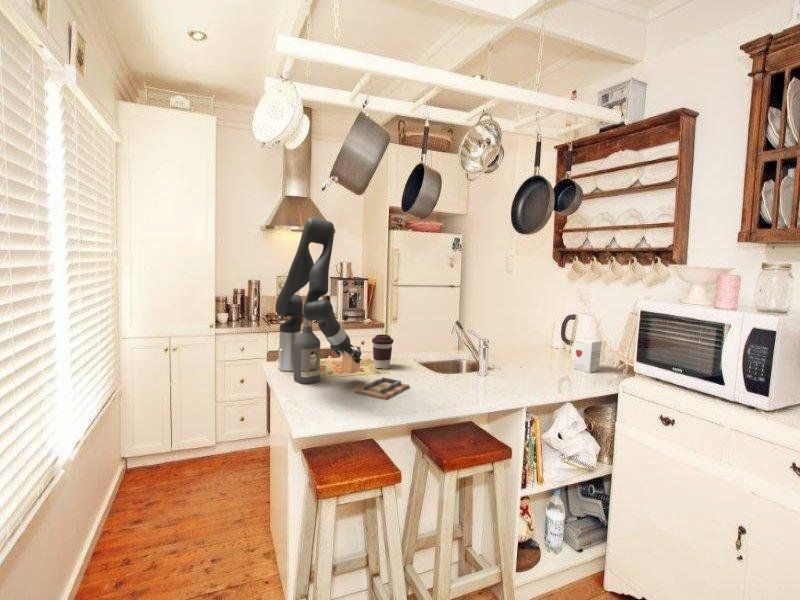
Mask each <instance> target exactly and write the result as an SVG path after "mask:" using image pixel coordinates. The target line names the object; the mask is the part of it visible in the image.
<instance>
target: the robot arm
mask: <svg viewBox="0 0 800 600" xmlns="http://www.w3.org/2000/svg"><path fill="white" fill-rule="evenodd" d="M334 238H335V226H334V223H333V222H331V221H329V220H325V219H320V218H319V219H318V218H316V217H309V218H308V219H306V221H305V223H304V226H303V229H302V232H301V236H300V240H299V243H298V247H297V249H296V253H295V255H294V258H293V261H292V262H291V264H290V268H289V271H288V274H287V277H286V279H285V282H284V284H283V287H282V288H281V289H280V292H279V294H278V296H277V298H276V302H275V312H276V314H277V315H278V316H279V317H290V318H289V319H288V320H287V321H285V322H282V323H281V324H280V325H279V333H278V335H279V336H278V337H279V340H278V341H279V342H278V344H279V345H278V346H279V347H278V370H279V371H280V372H281V371H282V372H294V342H295V340H296V339H297V337H298V336H299V335H300V334H301V333H302V326H303V317H304V316H305V318H306V319H307V320H309V321H312V322H314V321H318V322H317V325H318V328H319V329H320V331H321V332H322V334H323V335H324V337H325V339H326V340H327V342H328V343H329V344H330V346H329V348H331V350H332V351H333V352H334V353H335V354H336V355H338V356H341V357H342V358H343V353H347V354H348V355H349V356H350V357H353V358H354V360H355V361H356V363H358V364H359V363H360V364H361V361H362V358H361V356H362V350H361V349H360V347H361V346H357V348H355V347H353V346H354V345H353V344H352V343H351V338H350V336H349V335H348V333H347V332H346V330H345V329H344V327H343V326H342V325H340V323H339V321H338V320H337V318H336V316H335V315H336V314H335V312H334V311H335V310H334V307H333V304H332V302H331V301H329V300H327V299H320V298H322V297H325V296H326V295H327V294H328V292H329V274H330V273H329V271H330V264H331V258H332V253H333V246H334ZM311 243H313V244H317V245H322V246H323V247H322V251H321V254H320V255H319V257H318V258H317V259H316V260H315V262H314V259H313V257H312V255H311V252H310V244H311ZM307 284H308V291H307V293H306V296H305V297H306V298H305V301H304V303H303V298H302V297H301V296H300V295H299V294H296V293H298V292H299V291H300V290H302V289H303V288H304V287H305V286H307ZM303 313H304V316H303ZM352 350H353V352H352ZM351 352H352V353H351ZM354 353H355V355H354Z"/></svg>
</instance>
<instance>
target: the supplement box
mask: <svg viewBox="0 0 800 600" xmlns="http://www.w3.org/2000/svg"><path fill="white" fill-rule="evenodd" d="M574 343H575V344H574V354H573V355H574V356H573V367H572V369H574V370H578V371H582V372H585V373H588V374H591V373H594V372H598V371H599V370H600V364H601V363H600V362H601V352H602V351H601V350H602V343H603V342H602V340H599V339H596V338H595V339H594V338H589V337H582V338H576V339H575V342H574Z"/></svg>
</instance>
